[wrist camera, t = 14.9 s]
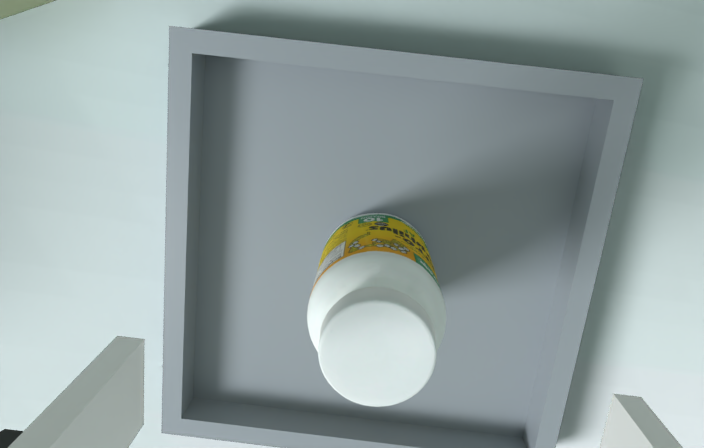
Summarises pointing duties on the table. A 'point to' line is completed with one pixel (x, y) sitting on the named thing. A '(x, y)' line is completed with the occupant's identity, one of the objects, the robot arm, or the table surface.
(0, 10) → the olive brick
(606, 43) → the table surface
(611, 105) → the slate tray
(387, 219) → the supplement bottle
